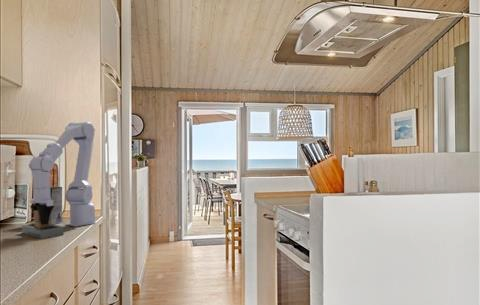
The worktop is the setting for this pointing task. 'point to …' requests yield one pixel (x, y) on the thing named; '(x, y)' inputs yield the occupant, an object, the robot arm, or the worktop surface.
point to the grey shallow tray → (43, 231)
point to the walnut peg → (38, 220)
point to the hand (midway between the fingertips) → (42, 223)
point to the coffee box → (56, 205)
